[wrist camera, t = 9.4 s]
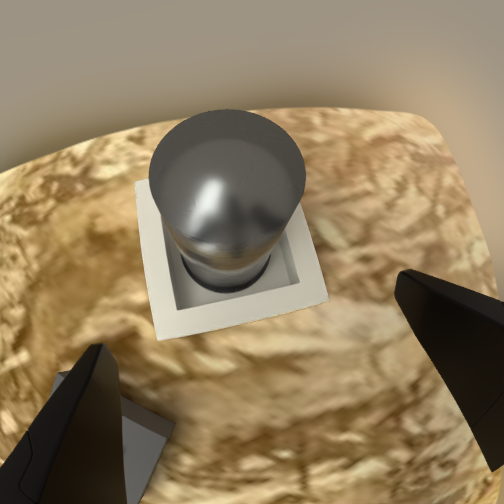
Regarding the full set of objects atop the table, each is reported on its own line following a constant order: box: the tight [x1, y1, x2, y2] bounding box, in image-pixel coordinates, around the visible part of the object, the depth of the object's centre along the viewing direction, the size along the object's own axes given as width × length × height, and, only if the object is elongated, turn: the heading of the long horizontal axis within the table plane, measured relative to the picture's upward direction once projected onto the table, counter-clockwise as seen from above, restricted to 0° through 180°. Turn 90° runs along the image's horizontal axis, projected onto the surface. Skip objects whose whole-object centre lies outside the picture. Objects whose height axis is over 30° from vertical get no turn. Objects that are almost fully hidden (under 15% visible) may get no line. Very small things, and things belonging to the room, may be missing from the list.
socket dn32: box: [50, 371, 175, 504], centre depth 13 cm, size 7×7×3 cm
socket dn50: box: [135, 178, 330, 341], centre depth 17 cm, size 9×9×3 cm
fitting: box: [149, 109, 306, 294], centre depth 13 cm, size 5×5×9 cm
